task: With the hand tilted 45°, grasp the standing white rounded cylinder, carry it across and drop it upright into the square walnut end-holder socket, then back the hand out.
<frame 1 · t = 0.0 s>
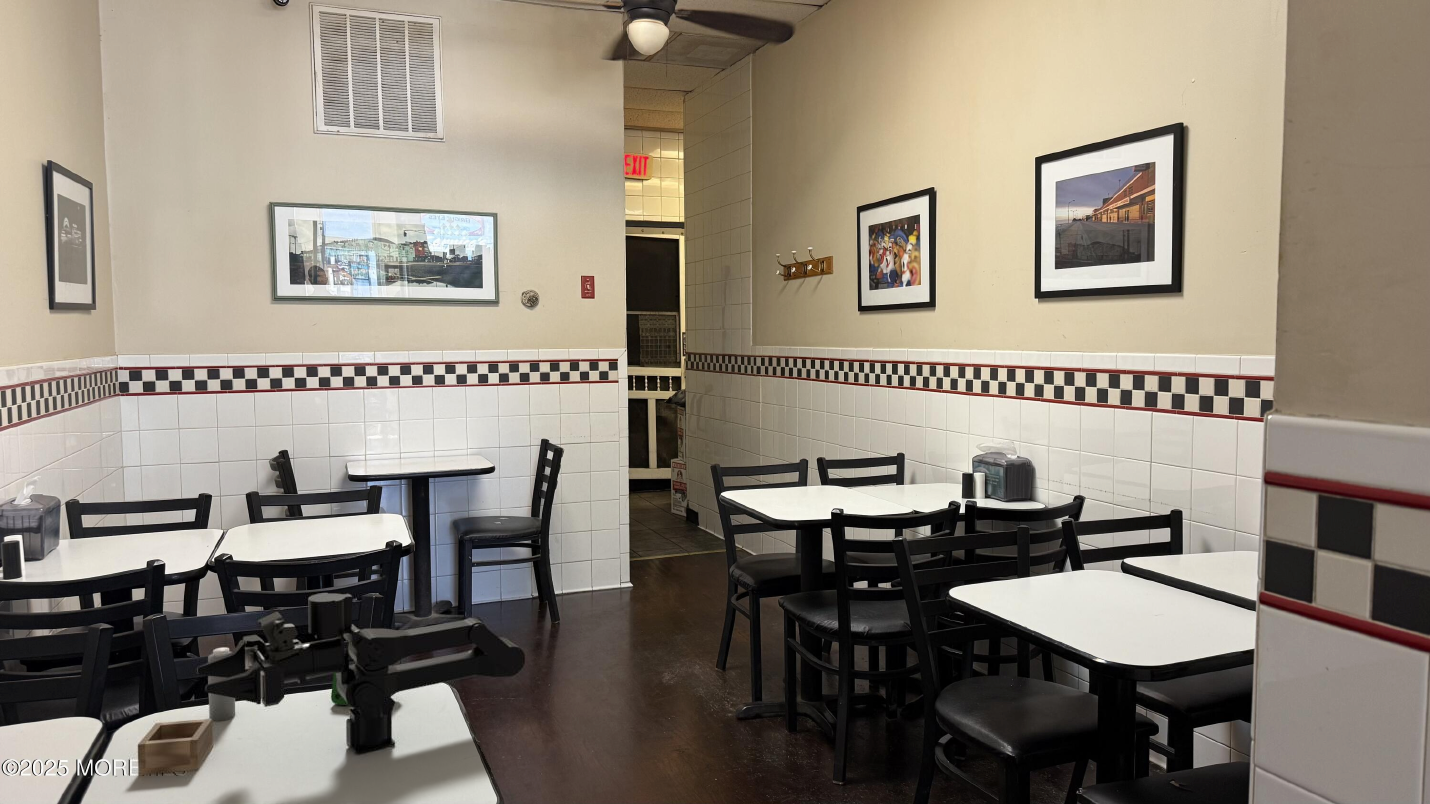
hand: (201, 679, 142), 17 cm above the table, tool horizontal, fingers open, 9 cm apart
white rounded cylinder: (222, 716, 169), on the table
end holder: (176, 760, 151), on the table
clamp: (367, 702, 177), on the table
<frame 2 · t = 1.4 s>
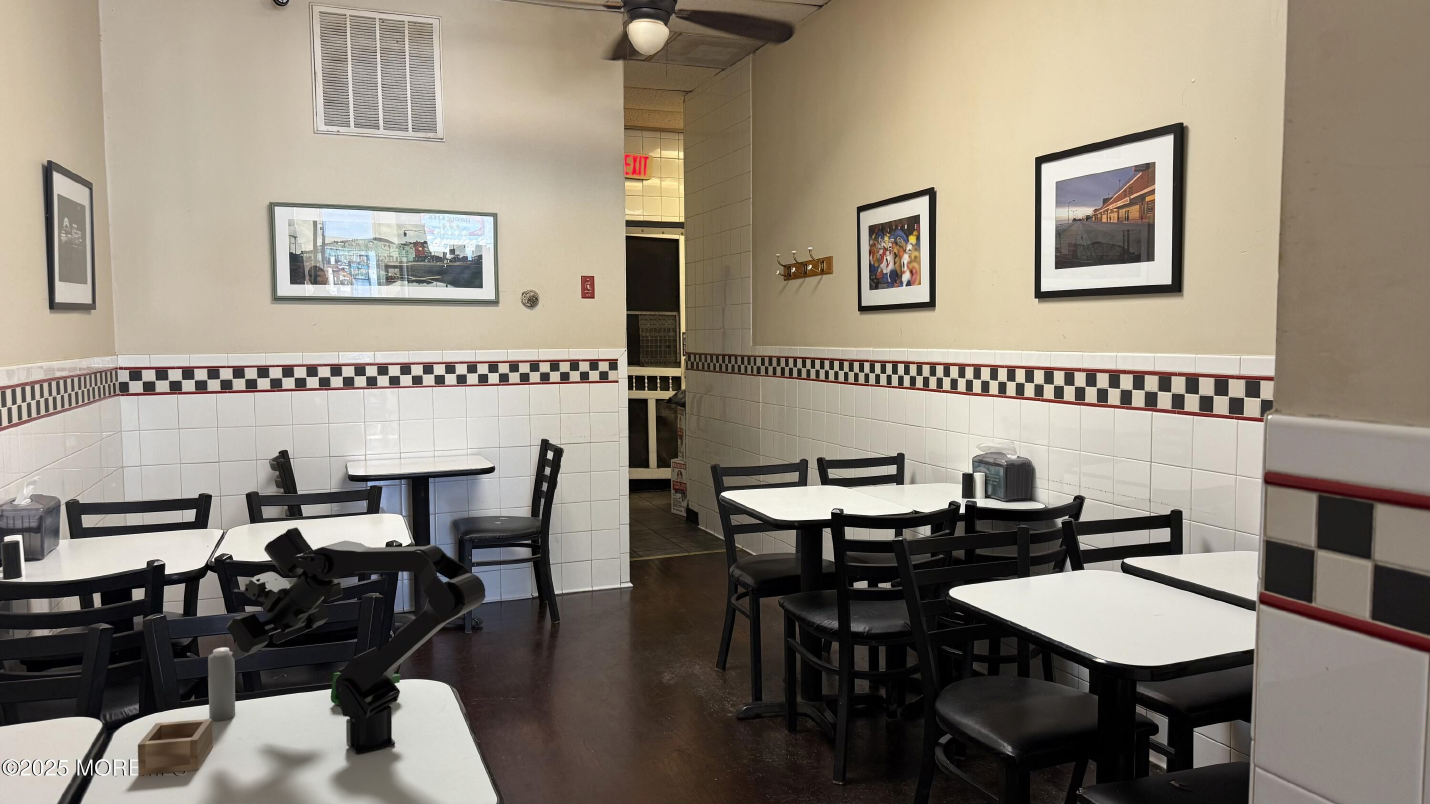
hand: (254, 649, 165), 14 cm above the table, tool tilted 45°, fingers open, 9 cm apart
nothing on the table moved.
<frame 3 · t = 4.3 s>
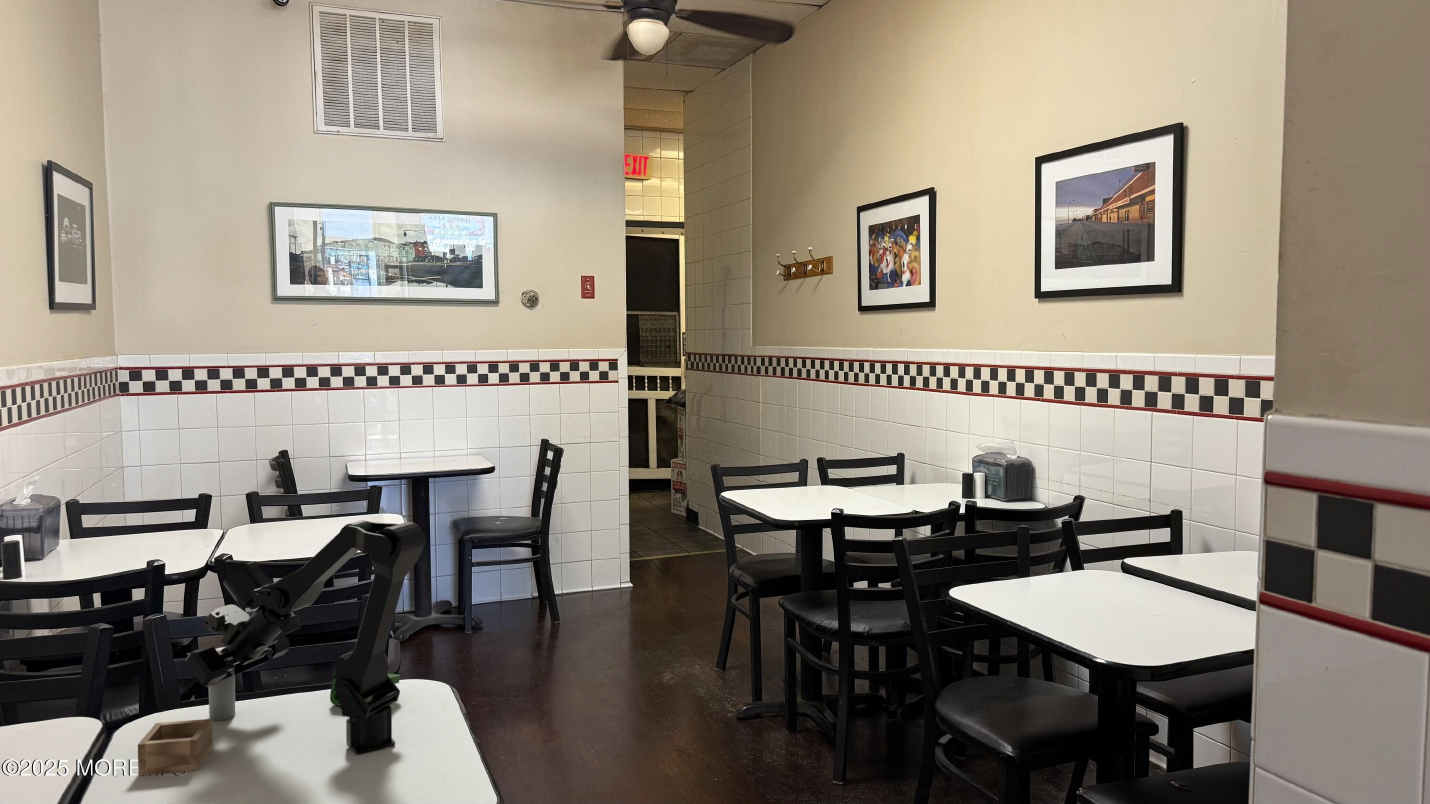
hand: (215, 680, 169), 7 cm above the table, tool tilted 45°, fingers closed on white rounded cylinder, 4 cm apart
white rounded cylinder: (222, 716, 169), on the table, touching gripper
everything else where it was.
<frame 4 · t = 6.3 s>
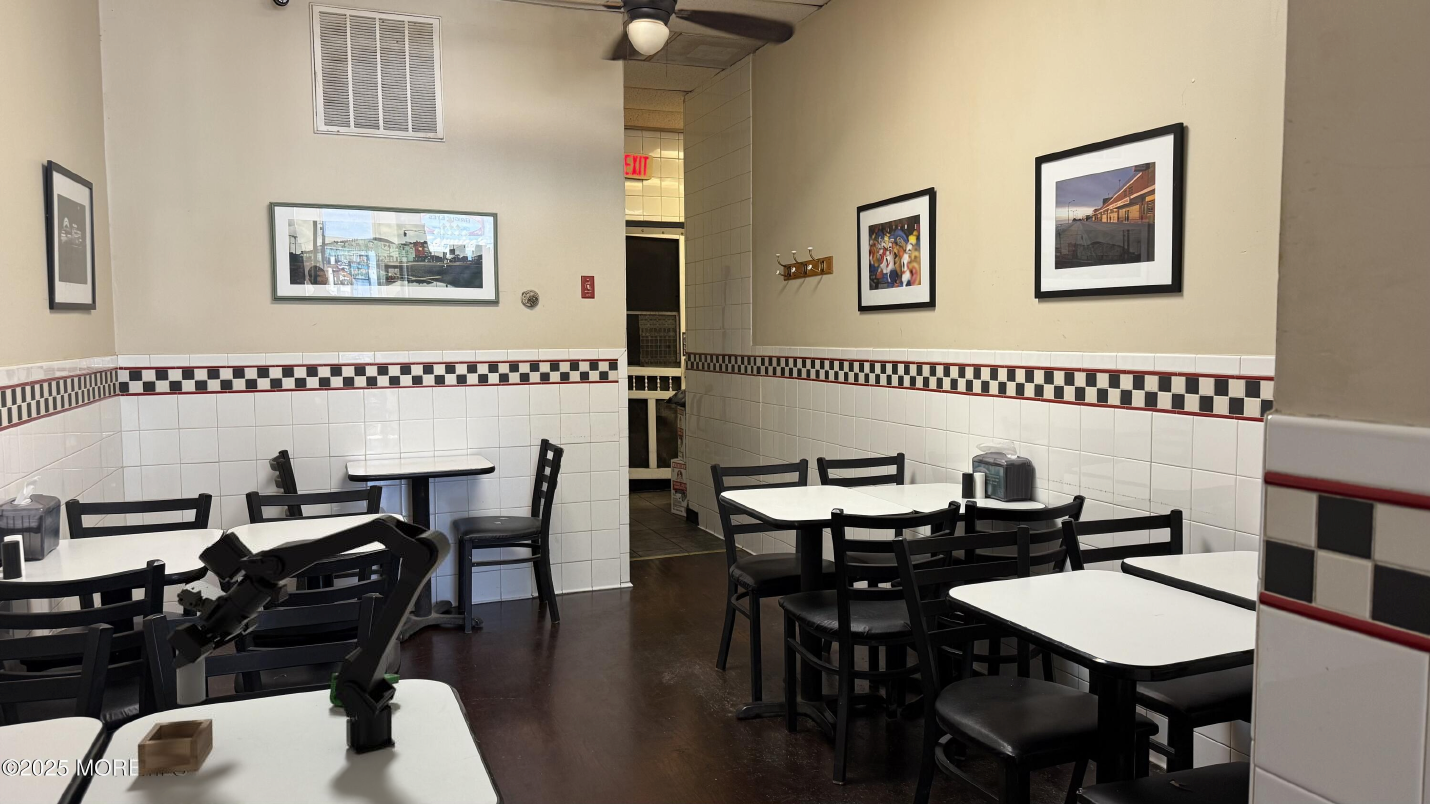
hand: (182, 662, 158), 13 cm above the table, tool tilted 45°, fingers closed on white rounded cylinder, 4 cm apart
white rounded cylinder: (191, 699, 159), point 7 cm above the table, touching gripper
everything else where it was.
when the fingers open (9 cm above the table, at t = 8.4 s): white rounded cylinder drops 1 cm, resting on end holder.
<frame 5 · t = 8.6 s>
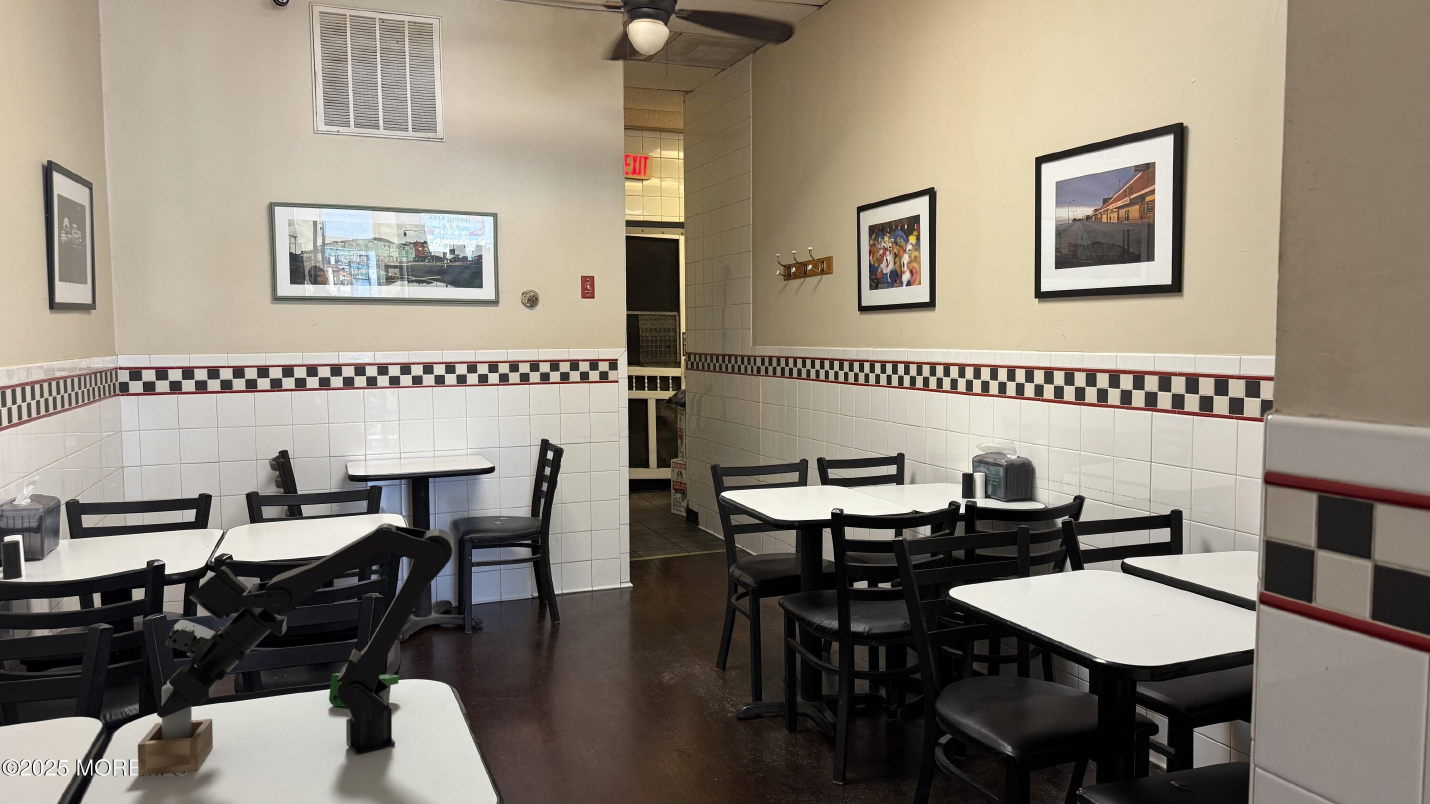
hand: (166, 707, 150), 9 cm above the table, tool tilted 45°, fingers open, 7 cm apart
white rounded cylinder: (176, 754, 151), point 1 cm above the table, touching end holder
everything else where it was.
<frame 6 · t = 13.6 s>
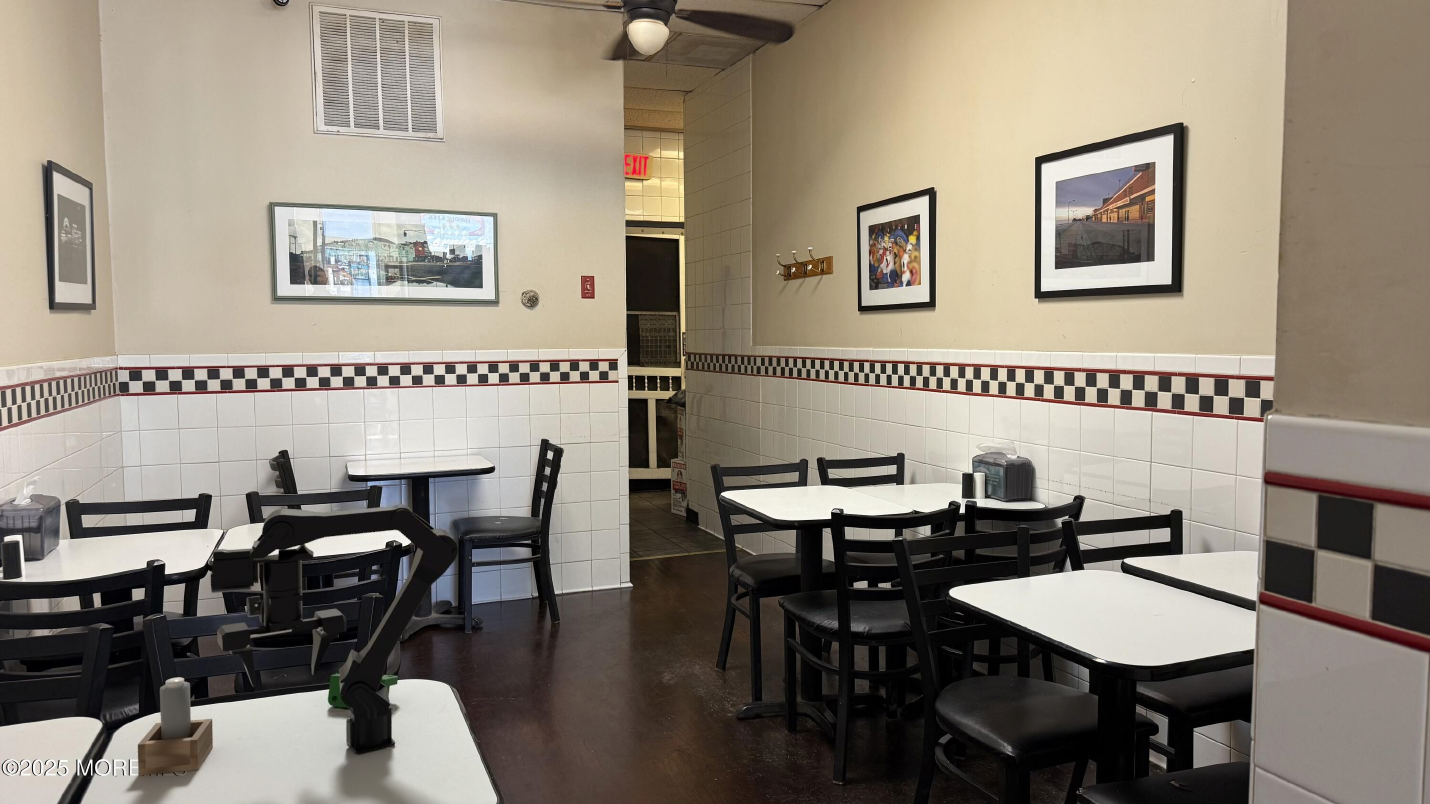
hand: (284, 679, 152), 13 cm above the table, tool pointing down, fingers open, 9 cm apart
at the end: white rounded cylinder 0.0 cm off-centre on the end holder, point 1.0 cm above the end holder's base; white rounded cylinder tilted 1°; the gripper is holding nothing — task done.
